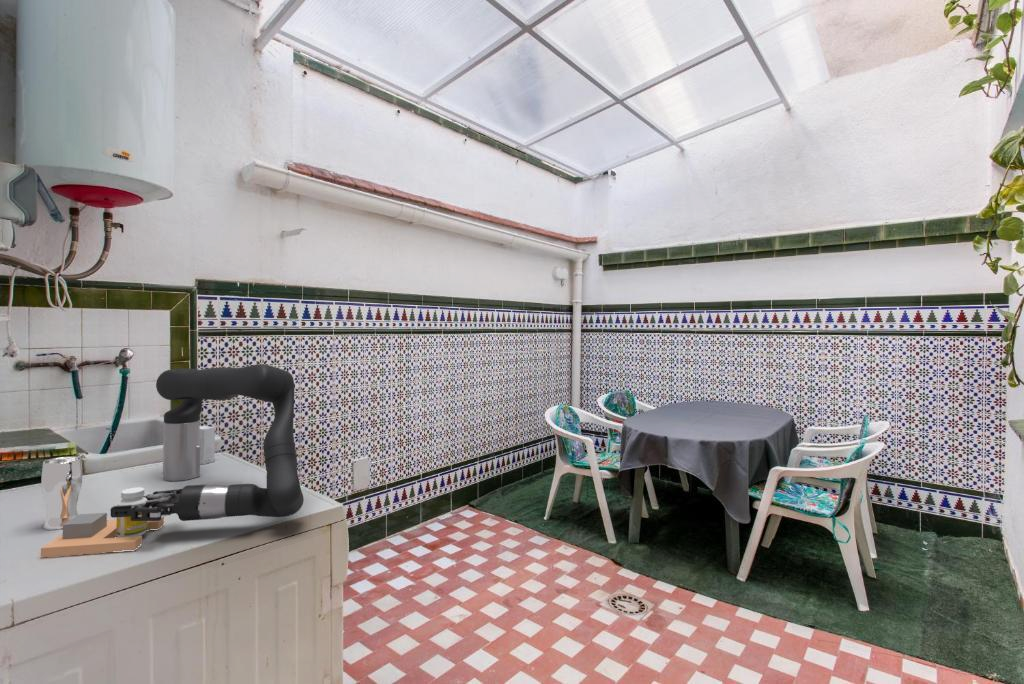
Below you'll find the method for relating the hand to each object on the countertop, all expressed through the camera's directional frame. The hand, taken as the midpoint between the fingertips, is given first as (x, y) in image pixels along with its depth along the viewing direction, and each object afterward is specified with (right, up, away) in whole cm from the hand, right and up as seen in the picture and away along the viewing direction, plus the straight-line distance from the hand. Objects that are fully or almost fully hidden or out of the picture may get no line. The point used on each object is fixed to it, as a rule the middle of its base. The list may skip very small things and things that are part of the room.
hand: (118, 507), depth 107 cm
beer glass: (-19, -7, +7) cm, 21 cm away
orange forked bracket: (-2, -7, 0) cm, 7 cm away
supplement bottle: (+2, -6, +1) cm, 7 cm away
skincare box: (-21, -6, +62) cm, 66 cm away
